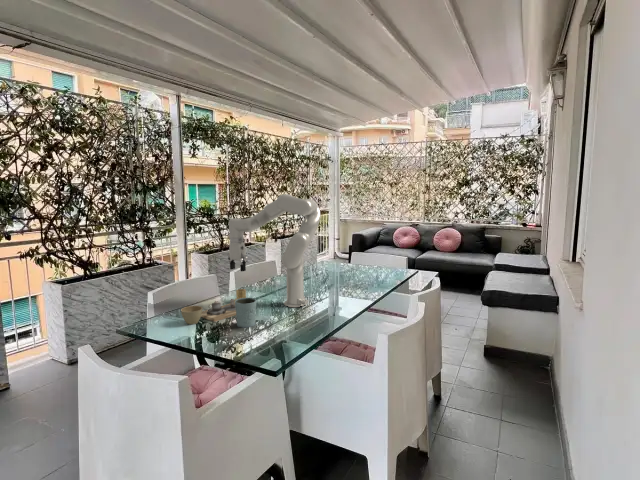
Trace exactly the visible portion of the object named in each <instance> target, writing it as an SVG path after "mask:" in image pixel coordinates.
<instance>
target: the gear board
mask: <svg viewBox="0 0 640 480" xmlns="http://www.w3.org/2000/svg"><path fill="white" fill-rule="evenodd" d="M234 300H235V299H234V298H230V300H229V301H230V302H229V303H227V304H224V305H221V302H219V301H217V300H216V301H214V302H213V303H212V304H211V308H208V309H206V310H202V314H201V317H200V318H203V319H205V320H208V321H212V322H218V321H222V320H224V319H227V318H232V317H234V316H236V307H235V302H234Z"/></svg>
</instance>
